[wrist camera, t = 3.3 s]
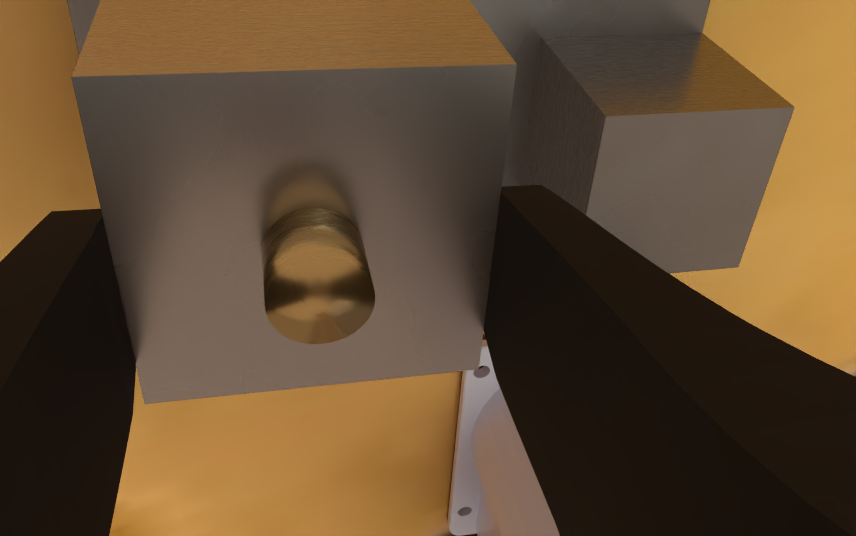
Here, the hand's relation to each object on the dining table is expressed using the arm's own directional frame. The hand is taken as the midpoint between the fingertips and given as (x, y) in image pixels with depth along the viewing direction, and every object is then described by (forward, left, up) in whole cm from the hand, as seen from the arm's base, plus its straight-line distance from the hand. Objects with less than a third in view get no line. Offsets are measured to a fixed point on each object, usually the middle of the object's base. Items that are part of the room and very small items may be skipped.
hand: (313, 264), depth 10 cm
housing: (0, 0, -5) cm, 5 cm away
